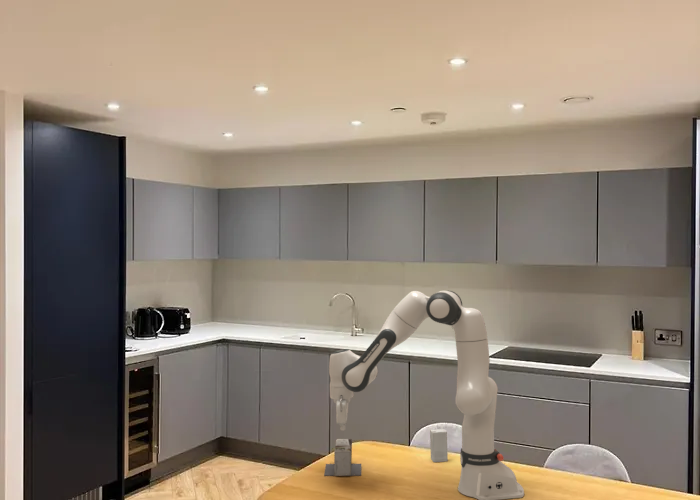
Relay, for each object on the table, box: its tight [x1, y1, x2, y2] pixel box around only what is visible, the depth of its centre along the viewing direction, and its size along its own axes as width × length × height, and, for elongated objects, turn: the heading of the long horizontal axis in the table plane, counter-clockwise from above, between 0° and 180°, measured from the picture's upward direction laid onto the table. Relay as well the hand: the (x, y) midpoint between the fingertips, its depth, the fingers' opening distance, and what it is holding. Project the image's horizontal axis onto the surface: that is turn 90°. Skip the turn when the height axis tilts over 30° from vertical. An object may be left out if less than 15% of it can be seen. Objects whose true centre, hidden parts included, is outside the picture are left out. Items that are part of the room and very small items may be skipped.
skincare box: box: [429, 428, 449, 463], centre depth 251 cm, size 6×4×12 cm
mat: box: [323, 463, 362, 477], centre depth 242 cm, size 14×12×1 cm
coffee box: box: [333, 438, 353, 477], centre depth 243 cm, size 9×6×16 cm
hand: (342, 429), depth 236 cm, fingers closed
